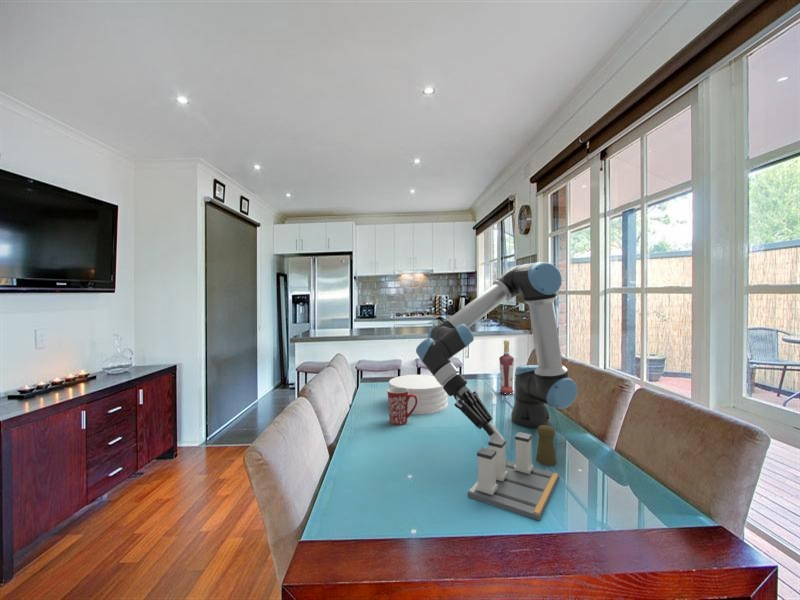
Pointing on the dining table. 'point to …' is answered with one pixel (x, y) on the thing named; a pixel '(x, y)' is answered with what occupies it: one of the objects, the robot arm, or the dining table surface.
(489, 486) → the lever far
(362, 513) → the dining table surface
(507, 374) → the liquor
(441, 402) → the plate stack
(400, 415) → the mug
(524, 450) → the lever
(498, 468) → the lever mid
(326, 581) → the dining table surface
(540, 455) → the cork
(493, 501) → the panel
